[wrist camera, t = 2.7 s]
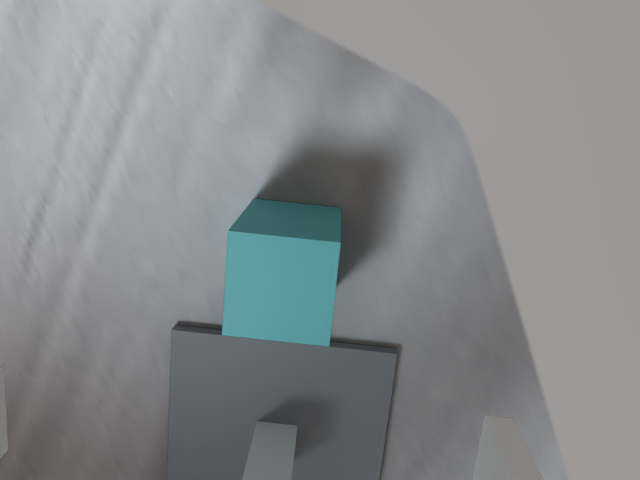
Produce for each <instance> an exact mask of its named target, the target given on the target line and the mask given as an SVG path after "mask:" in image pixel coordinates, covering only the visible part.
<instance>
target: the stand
mask: <svg viewBox="0 0 640 480" xmlns="http://www.w3.org/2000/svg"><path fill="white" fill-rule="evenodd" d="M396 361H397V349H396V348H388V347H378V346H369V345H360V344H350V343H341V342H331V341H330V345H329V346H319V345H310V344H300V343H291V342H282V341H272V340H263V339H254V338H244V337H235V336H225V335H222V330H219V329H209V328H200V327H191V326H181V325H175V326H174V328H173V329H172V339H171V369H170V398H169V427H168V456H167V480H379V478H380V472H381V465H382V458H383V451H384V444H385V437H386V430H387V423H388V416H389V409H390V402H391V396H392V389H393V382H394V375H395V368H396Z"/></svg>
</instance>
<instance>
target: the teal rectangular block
mask: <svg viewBox="0 0 640 480" xmlns="http://www.w3.org/2000/svg"><path fill="white" fill-rule="evenodd" d="M340 246H341V208H340V207H330V206H321V205H311V204H302V203H292V202H282V201H273V200H263V199H253V200H252V202H251V203H250V204H249V205H248V207H247V208H246V209H245V210H244V212H243V213H242V214H241V215H240V217H239V218H238V219H237V220H236V222H235V223H234V224H233V225H232V227H231V228H230V229H229V230H228V240H227V257H226V274H225V291H224V308H223V326H222V335H225V336H235V337H244V338H254V339H263V340H272V341H282V342H291V343H300V344H310V345H319V346H329V345H330V336H331V327H332V318H333V309H334V300H335V291H336V282H337V273H338V264H339V255H340Z"/></svg>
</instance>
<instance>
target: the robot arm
mask: <svg viewBox="0 0 640 480" xmlns="http://www.w3.org/2000/svg"><path fill="white" fill-rule="evenodd" d="M7 450H8V436H7V417H6V398H5V378H4V362H0V458H1V457H2V456H3V455H4V454H5V453H6V452H7ZM472 480H544V479H543V477H542V475H541V473H540V471H539V469H538V467H537V465H536V463H535V461H534V459H533V457H532V455H531V453H530V451H529V449H528V447H527V445H526V443H525V441H524V439H523V437H522V435H521V433H520V431H519V429H518V427H517V425H516V423H515V421H514V419H512V418H503V417H494V416H485V417H484V422H483V427H482V432H481V437H480V442H479V448H478V453H477V458H476V463H475V468H474V473H473V478H472Z"/></svg>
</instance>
